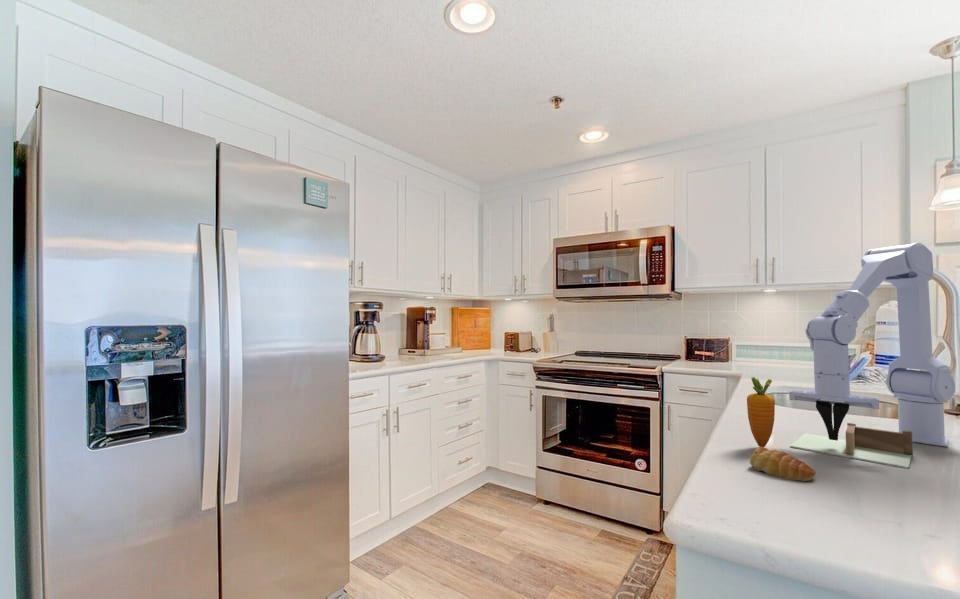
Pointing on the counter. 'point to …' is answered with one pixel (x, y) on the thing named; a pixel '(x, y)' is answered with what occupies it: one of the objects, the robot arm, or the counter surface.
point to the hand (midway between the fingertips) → (833, 439)
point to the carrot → (761, 412)
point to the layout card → (860, 453)
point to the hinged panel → (850, 439)
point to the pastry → (781, 464)
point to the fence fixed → (884, 440)
